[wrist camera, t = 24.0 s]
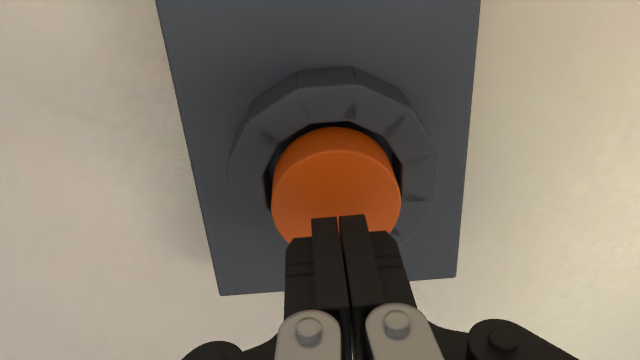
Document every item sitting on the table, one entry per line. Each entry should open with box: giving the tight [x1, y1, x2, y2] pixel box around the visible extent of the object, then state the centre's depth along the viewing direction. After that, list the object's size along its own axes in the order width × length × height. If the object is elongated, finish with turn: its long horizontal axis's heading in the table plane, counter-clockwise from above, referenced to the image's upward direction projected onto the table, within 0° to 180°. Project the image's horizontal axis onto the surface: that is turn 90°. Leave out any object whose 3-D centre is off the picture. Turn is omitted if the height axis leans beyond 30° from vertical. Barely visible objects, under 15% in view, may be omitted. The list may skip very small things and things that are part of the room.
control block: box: [155, 0, 481, 296], centre depth 18 cm, size 12×10×4 cm
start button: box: [271, 127, 401, 244], centre depth 16 cm, size 4×4×2 cm
